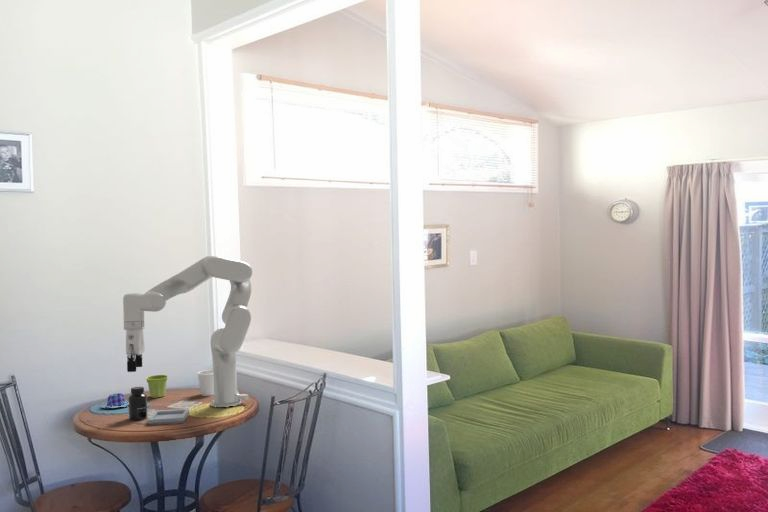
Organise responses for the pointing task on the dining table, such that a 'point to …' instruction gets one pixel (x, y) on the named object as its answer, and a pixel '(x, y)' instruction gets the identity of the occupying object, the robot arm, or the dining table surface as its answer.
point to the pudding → (116, 400)
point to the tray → (168, 417)
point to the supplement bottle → (137, 404)
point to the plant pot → (157, 385)
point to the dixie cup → (206, 382)
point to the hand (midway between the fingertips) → (134, 369)
